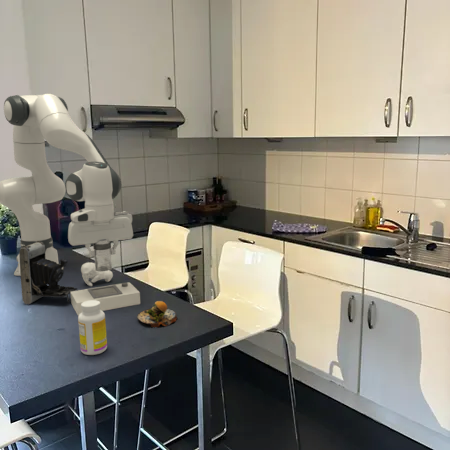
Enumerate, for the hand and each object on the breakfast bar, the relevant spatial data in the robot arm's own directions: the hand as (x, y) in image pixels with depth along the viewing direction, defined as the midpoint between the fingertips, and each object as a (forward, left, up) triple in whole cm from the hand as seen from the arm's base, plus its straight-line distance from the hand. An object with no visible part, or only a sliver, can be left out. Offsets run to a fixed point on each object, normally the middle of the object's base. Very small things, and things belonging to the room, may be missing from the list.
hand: (102, 255), depth 147 cm
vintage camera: (-12, -16, -17) cm, 26 cm away
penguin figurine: (-23, +2, -17) cm, 29 cm away
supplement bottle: (+32, -11, -17) cm, 37 cm away
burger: (+21, +10, -17) cm, 29 cm away
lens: (0, 0, -5) cm, 5 cm away
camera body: (0, 0, -17) cm, 17 cm away
